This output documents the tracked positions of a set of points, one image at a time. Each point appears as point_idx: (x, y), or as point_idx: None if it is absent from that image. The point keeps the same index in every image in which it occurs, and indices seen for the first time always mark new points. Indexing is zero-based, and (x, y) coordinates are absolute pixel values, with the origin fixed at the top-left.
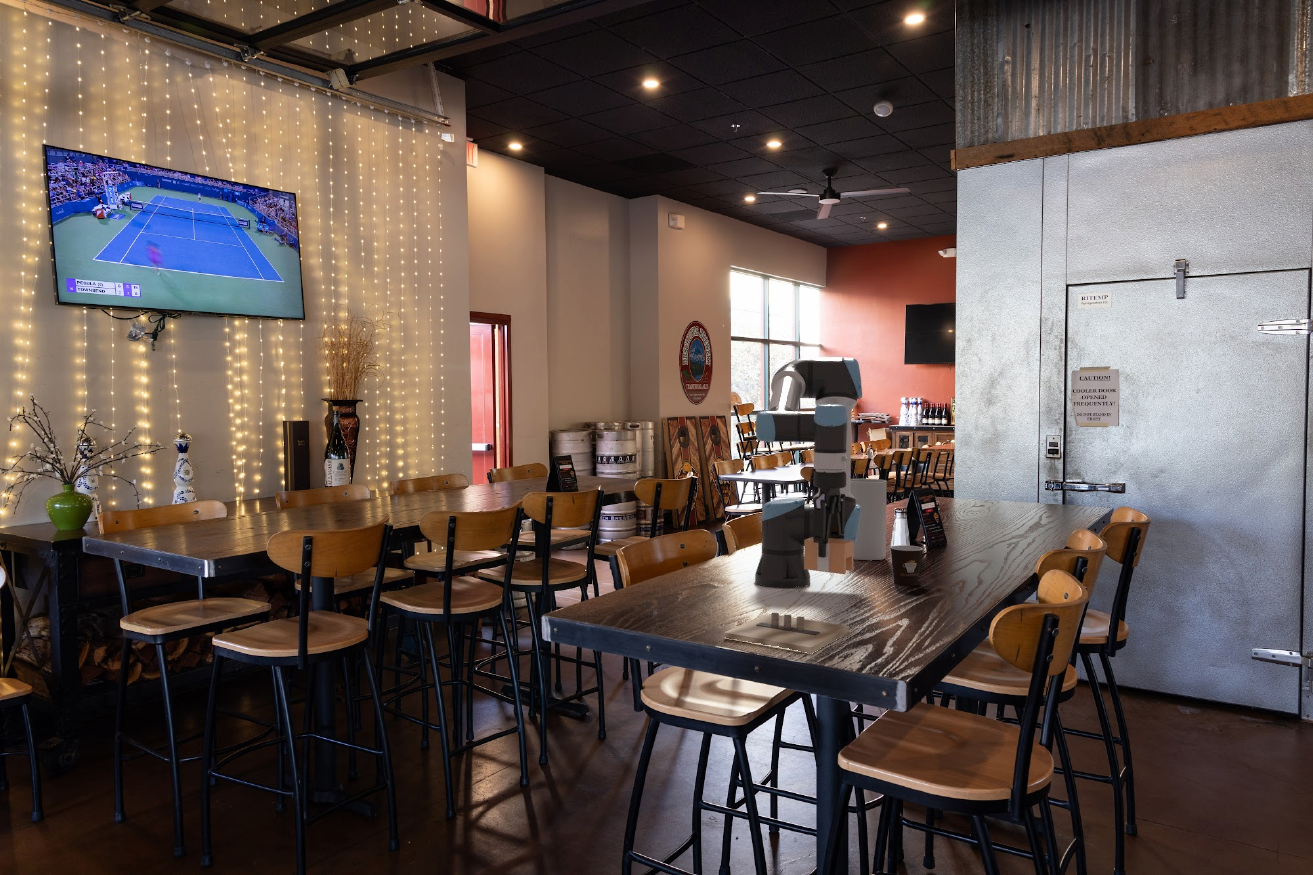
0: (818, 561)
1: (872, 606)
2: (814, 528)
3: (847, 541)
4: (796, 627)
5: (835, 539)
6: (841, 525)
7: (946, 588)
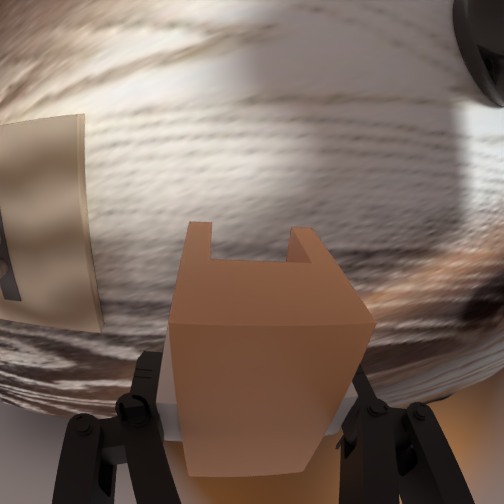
0: (168, 325)
1: (368, 290)
2: (58, 488)
3: (268, 469)
4: (16, 246)
5: (302, 435)
6: (398, 477)
7: (498, 329)
